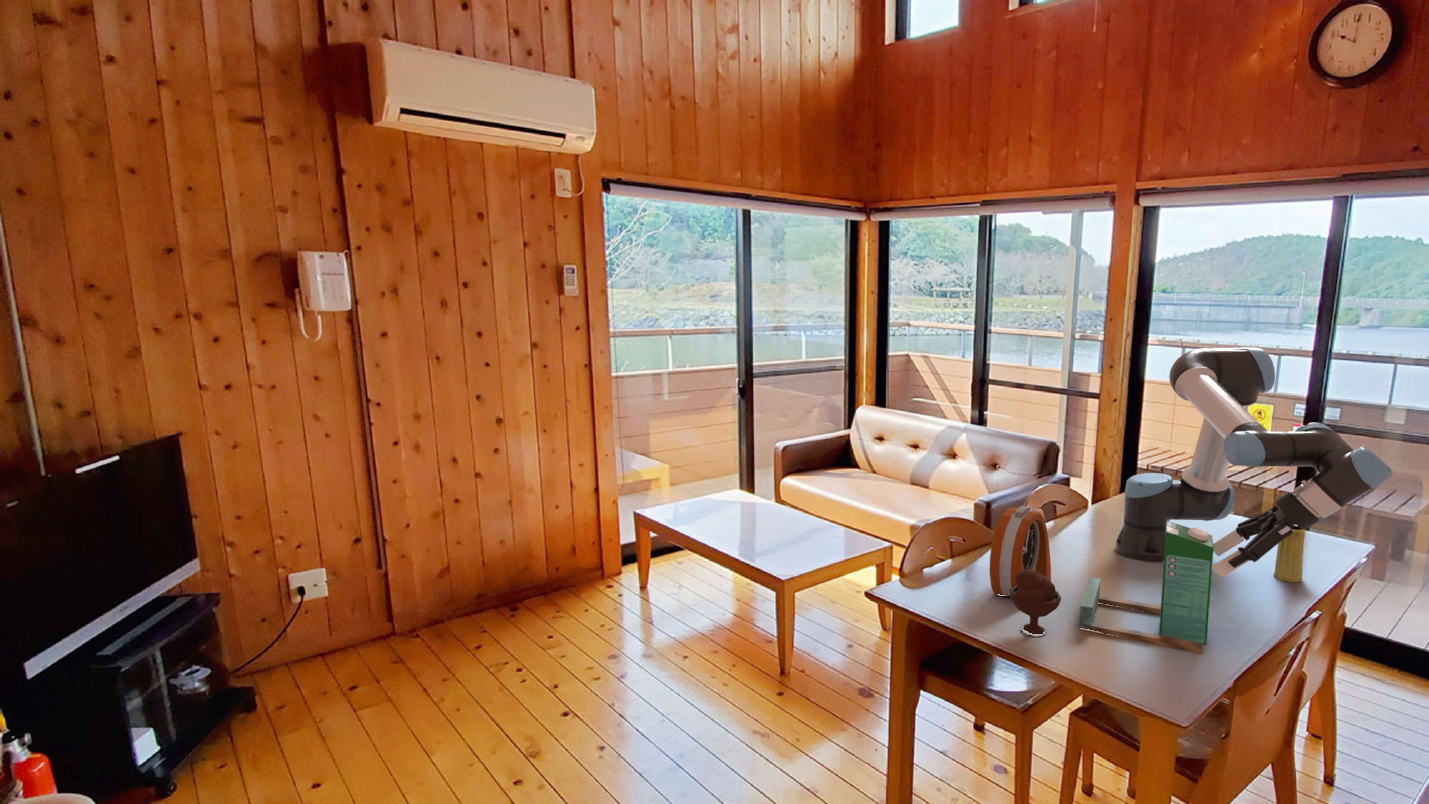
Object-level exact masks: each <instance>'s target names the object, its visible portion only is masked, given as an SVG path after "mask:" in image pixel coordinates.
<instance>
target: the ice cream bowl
mask: <svg viewBox="0 0 1429 804" xmlns="http://www.w3.org/2000/svg"><path fill="white" fill-rule="evenodd" d="M1016 584H1017V585H1016V586H1014V587H1012V588H1011V589H1010V595H1011V597H1010V598H1011V600H1012V602H1013V604H1014V607H1016V609H1017V610H1018V611H1020V612H1021V613H1023V614H1025V615H1027V616H1029V623H1027V624H1024V625H1023V626H1024V628H1023V629H1024V630H1026V631H1028V632H1029V633H1032V634H1043V632H1044V631H1046V629H1045V627H1042V626H1041V625H1039V618H1044V617H1046V616H1048V615H1050V614H1051V613H1052V612H1054V611H1055V610H1057V609H1058V608H1059V606H1060V604H1061V600H1062V596H1061V595H1060V593H1059V592H1058V591H1057V590H1056V586H1055V584H1054V583H1053V582H1052V580H1051V581H1050V580H1049V579H1048V578H1047V577H1045V576H1043V575H1040V574H1039V573H1038V572H1036V571H1033V570H1030V569H1025V570H1022V571H1020V572H1019V573H1018V575H1017V576H1016ZM1044 629H1045V630H1044Z"/></svg>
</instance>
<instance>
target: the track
mask: <svg viewBox="0 0 1429 804" xmlns="http://www.w3.org/2000/svg"><path fill="white" fill-rule="evenodd" d="M1100 590H1101V578H1097V577H1092V576H1089V577H1088V580H1087V583H1086V587H1085V590H1084V593H1083V596H1082V600H1081V603H1080V612H1079V613H1080V614H1079V627H1080V628H1084V629H1090V630H1094V631H1099V632H1102V633H1104V634H1111V635H1114V636H1118V637H1117V638H1119V637H1121V639H1124V638H1125V640H1130V641H1134V642H1138V643H1139V642H1141V643H1146V644H1150V645H1155V646H1156V645H1157V646H1159V647H1160V646H1161V647H1166V648H1169V649H1170V648H1172V649H1176V650H1181V651H1186V652H1191V653H1196V654H1203V653H1202V652H1203V644H1202V643H1198V642H1192V641H1187V640H1182V639H1176V638H1171V637H1166V636H1161V635H1159V634H1155V633H1154V634H1153V633H1149V632H1145V631H1139V630H1132V629H1129V628H1122V627H1118V626H1112V625H1107V624H1102V623H1096V622H1095V620H1094V618H1095V619H1096V616H1095V614H1096V615H1097V612H1096V610H1097V611H1098V608H1097V606H1098V607H1099V604H1098V602H1099V603H1103V604H1109V605H1113V606H1119V607H1123V608H1127V609H1126V610H1128V609H1134V610H1137V611H1136V612H1140V611H1144V612H1143V613H1145V612H1147V614H1150V615H1151V614H1152V615H1157V614H1158V615H1157V616H1160V614H1161V605H1158V604H1157V605H1156V604H1150V603H1144V602H1139V601H1133V600H1128V599H1127V600H1126V599H1121V598H1116V597H1110V596H1109V597H1108V596H1104V595H1100V592H1101V591H1100ZM1123 608H1122V609H1123ZM1134 610H1133V611H1134ZM1093 622H1094V623H1093ZM1104 634H1103V635H1104ZM1114 636H1113V637H1114Z"/></svg>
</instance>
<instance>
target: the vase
mask: <svg viewBox="0 0 1429 804" xmlns="http://www.w3.org/2000/svg"><path fill="white" fill-rule="evenodd" d="M1290 529H1291V530H1292V531H1293V533H1292V534H1291V535H1289V536H1287V537H1286V538H1284V539H1283V540H1282V541H1281V542H1279V543H1278V544H1277V550H1276V559H1275V565H1274V572H1273V577H1274V578H1276V579H1277V580H1280V581H1284V582H1287V583H1301V582H1302V581H1303V565H1304V564H1303V562H1304V561H1303V559H1304V558H1303V557H1304V543H1305V535H1306V529H1301V528H1300V527H1298V526H1297V525H1293V526H1292V527H1290Z"/></svg>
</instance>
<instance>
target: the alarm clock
mask: <svg viewBox="0 0 1429 804" xmlns="http://www.w3.org/2000/svg"><path fill="white" fill-rule="evenodd" d="M996 524H997V525H996V527H995V530H994V534H993V538H992V541H991V546H990V548H991V549H990V556H989V580H990V586H991V590H992V592H993V593H995V594H1000V595H1007V596H1006V597H1008V596H1011V595H1010V589H1011V588H1012V587H1014V586H1016V585H1017V584H1016V576H1017V575H1018V573H1019V572H1020V571H1022V570H1025V569H1030V570H1033V571H1036V572H1038V573H1039V574H1040V575H1043V576H1045V577H1047V578H1048V579H1049V580H1050V581H1051V582H1052V565H1051V552H1050V541H1049V534H1048V529H1047V524H1046V520H1045V517H1044V516H1043V515H1042V513H1040V511H1036V510H1032V511H1031V507H1030V506H1027V505H1021V506H1019V507H1011V508H1010V507H1009V508H1007V509H1005V511H1004V512H1003V513H1002V514H1001V516H1000V518H999V519H998V522H997V523H996ZM995 594H994V595H995Z"/></svg>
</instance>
